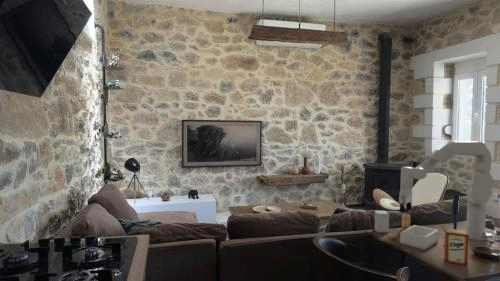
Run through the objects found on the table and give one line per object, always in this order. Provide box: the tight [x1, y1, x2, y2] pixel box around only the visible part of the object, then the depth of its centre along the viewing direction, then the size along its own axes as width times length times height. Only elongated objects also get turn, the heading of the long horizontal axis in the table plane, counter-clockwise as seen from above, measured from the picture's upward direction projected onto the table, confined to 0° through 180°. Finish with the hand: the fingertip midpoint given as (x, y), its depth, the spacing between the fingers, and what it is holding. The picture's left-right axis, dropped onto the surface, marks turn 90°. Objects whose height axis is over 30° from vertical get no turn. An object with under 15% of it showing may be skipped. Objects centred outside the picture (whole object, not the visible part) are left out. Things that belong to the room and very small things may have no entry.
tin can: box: [401, 213, 411, 231], centre depth 228 cm, size 5×5×10 cm
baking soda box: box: [443, 228, 469, 266], centre depth 175 cm, size 10×6×16 cm
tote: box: [399, 224, 439, 250], centre depth 204 cm, size 20×14×7 cm
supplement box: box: [374, 210, 390, 233], centre depth 226 cm, size 7×7×13 cm
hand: (405, 210), depth 228 cm, fingers open, 9 cm apart
